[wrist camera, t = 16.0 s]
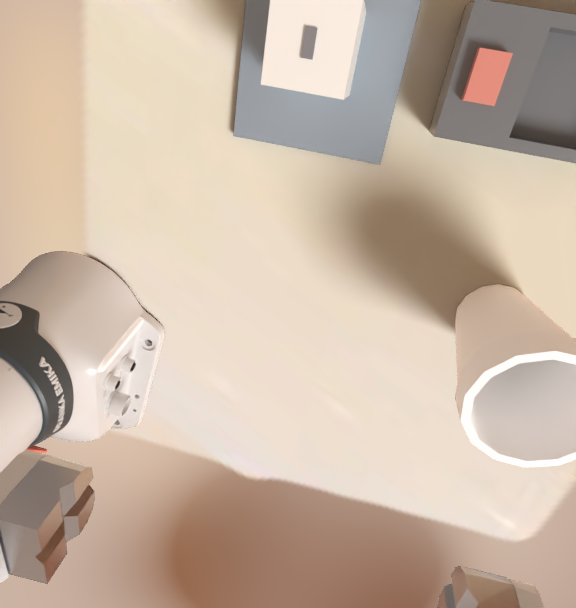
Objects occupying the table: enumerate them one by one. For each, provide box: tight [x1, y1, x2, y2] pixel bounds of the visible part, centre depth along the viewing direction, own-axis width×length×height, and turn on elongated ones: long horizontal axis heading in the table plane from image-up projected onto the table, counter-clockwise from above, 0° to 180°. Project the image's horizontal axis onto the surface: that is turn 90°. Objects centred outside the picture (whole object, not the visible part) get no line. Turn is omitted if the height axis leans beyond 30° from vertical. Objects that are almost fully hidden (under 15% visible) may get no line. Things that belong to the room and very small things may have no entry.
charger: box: [261, 0, 366, 100], centre depth 29 cm, size 5×5×7 cm
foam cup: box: [455, 284, 576, 468], centre depth 34 cm, size 10×9×13 cm
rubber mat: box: [233, 0, 421, 165], centre depth 32 cm, size 14×12×1 cm
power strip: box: [429, 0, 576, 163], centre depth 29 cm, size 8×12×4 cm, turn 81°
